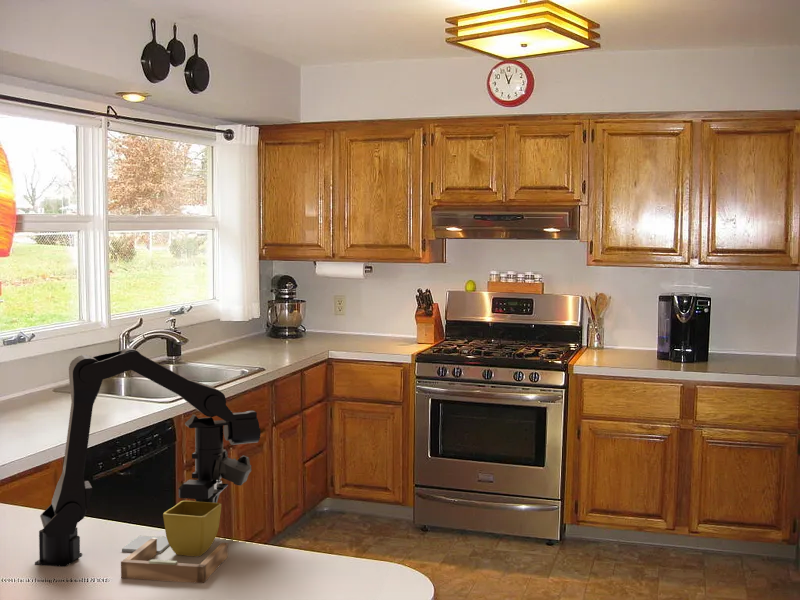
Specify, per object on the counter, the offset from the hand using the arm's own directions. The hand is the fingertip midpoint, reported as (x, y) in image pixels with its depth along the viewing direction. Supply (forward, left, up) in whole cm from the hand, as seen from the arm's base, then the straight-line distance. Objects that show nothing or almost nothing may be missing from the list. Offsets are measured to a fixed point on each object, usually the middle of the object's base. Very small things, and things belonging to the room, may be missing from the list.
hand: (209, 520), depth 177 cm
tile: (-10, -7, -4) cm, 13 cm away
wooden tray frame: (0, -18, -4) cm, 19 cm away
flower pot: (0, -9, -4) cm, 10 cm away
